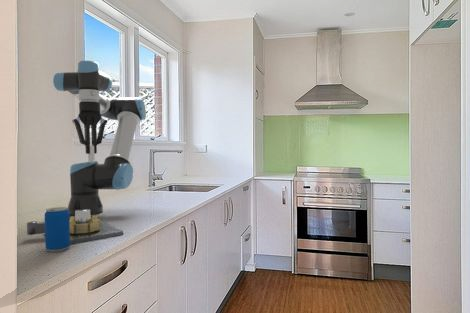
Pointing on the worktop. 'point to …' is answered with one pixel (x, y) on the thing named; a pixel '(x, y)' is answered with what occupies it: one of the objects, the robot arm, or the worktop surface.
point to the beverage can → (57, 229)
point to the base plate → (103, 232)
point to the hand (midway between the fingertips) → (91, 162)
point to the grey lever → (74, 228)
